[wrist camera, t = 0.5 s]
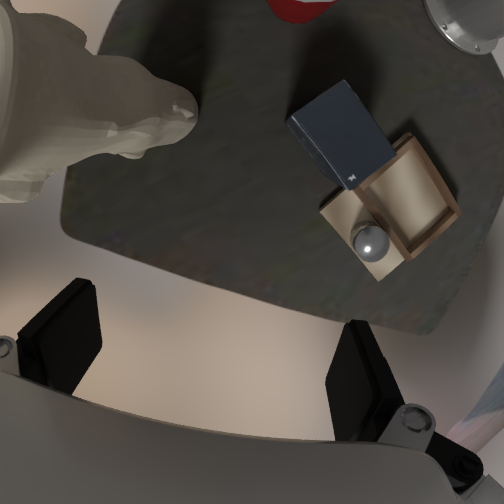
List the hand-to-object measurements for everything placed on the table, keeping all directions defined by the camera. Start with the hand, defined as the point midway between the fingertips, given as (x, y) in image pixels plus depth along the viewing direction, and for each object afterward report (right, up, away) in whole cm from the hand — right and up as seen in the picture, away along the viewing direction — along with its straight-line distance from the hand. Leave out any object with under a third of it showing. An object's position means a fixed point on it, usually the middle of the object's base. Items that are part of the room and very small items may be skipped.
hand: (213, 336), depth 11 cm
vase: (-8, +19, +22) cm, 30 cm away
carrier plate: (+18, +8, +24) cm, 32 cm away
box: (+9, +16, +22) cm, 29 cm away
